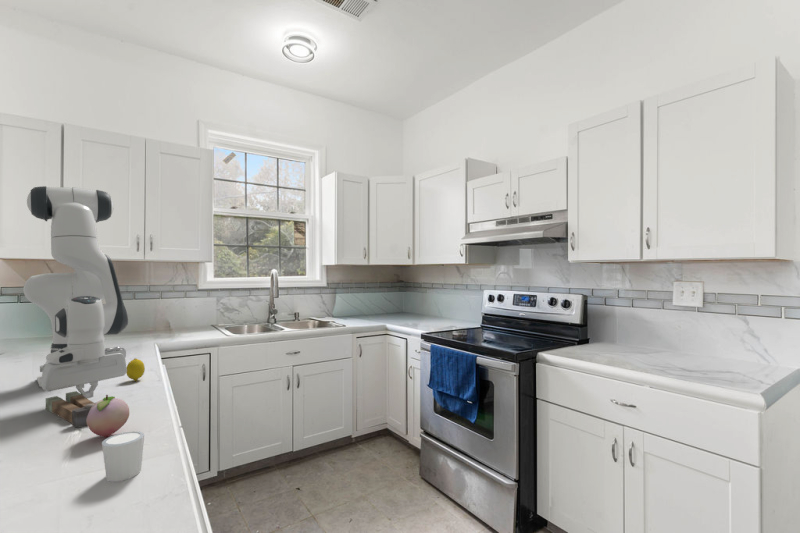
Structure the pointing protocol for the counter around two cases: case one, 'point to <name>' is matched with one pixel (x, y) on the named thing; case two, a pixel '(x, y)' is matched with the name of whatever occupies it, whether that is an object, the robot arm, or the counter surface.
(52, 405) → the tongs base
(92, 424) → the decorative fruit
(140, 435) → the shot glass
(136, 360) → the lemon
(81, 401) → the tongs arm
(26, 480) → the counter surface
